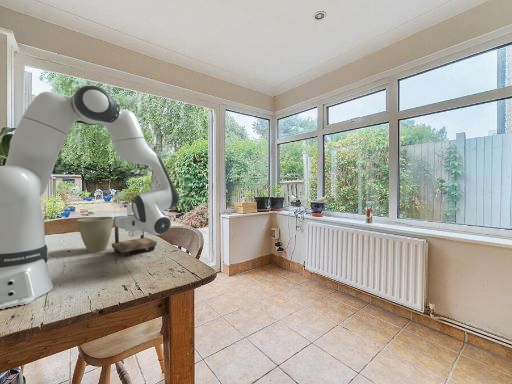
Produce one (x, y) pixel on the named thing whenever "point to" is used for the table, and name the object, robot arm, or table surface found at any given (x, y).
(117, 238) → the dolly
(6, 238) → the robot arm
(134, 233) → the beer glass
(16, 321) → the table surface
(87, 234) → the plant pot
